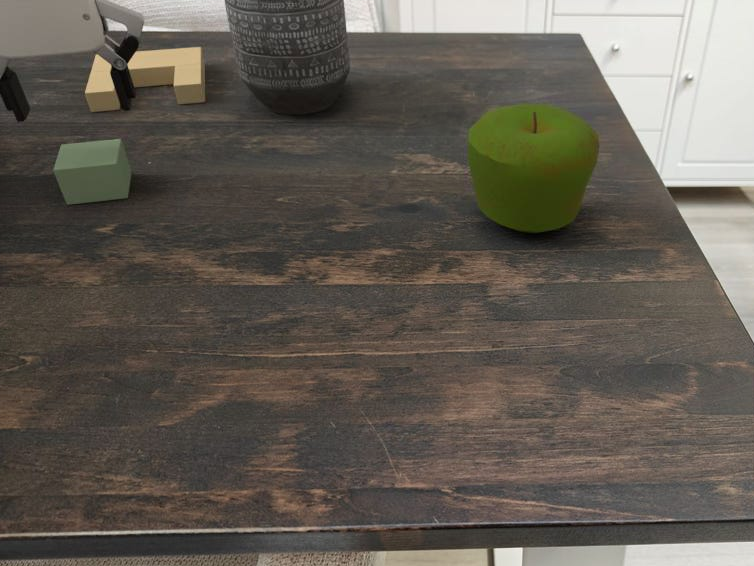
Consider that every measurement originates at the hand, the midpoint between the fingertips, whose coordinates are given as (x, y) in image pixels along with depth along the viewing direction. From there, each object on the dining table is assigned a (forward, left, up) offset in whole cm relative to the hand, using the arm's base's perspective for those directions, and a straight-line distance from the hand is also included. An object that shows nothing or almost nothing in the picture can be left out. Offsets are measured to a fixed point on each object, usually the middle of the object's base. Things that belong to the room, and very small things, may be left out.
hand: (76, 110), depth 74 cm
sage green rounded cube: (0, 0, -9) cm, 9 cm away
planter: (+23, +19, -9) cm, 31 cm away
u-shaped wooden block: (+4, +28, -9) cm, 30 cm away
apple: (+43, -17, -9) cm, 47 cm away
